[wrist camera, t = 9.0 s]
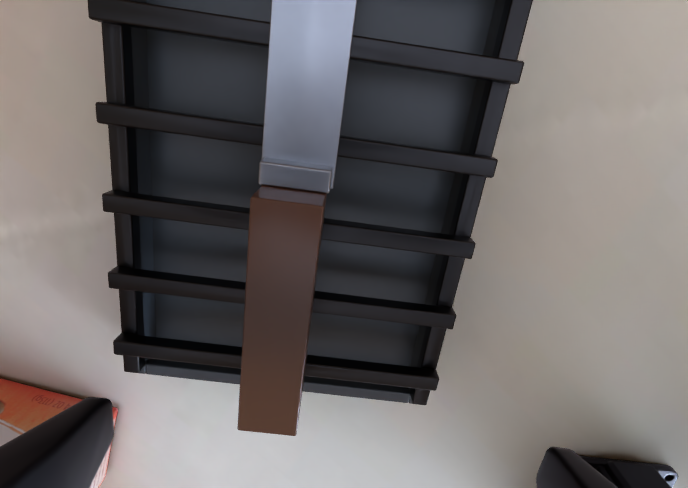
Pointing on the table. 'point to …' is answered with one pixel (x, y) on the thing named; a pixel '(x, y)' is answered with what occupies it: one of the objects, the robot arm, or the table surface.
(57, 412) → the cracker box
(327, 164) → the knife
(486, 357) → the table surface
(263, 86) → the dish rack
